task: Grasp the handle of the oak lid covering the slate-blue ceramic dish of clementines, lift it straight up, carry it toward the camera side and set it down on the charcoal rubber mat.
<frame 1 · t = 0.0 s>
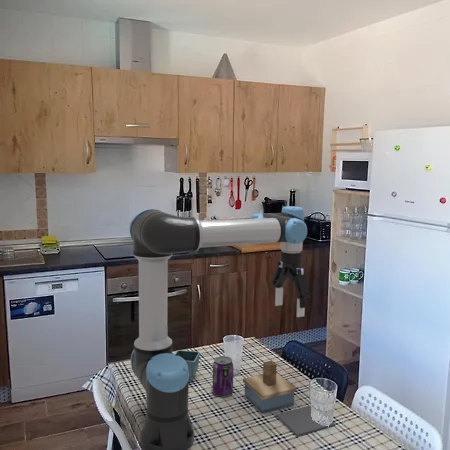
hand: (289, 310, 158), 28 cm above the table, fingers open, 13 cm apart
beverage can: (222, 393, 156), on the table
lid: (269, 386, 151), point 5 cm above the table, touching dish
flower pot: (185, 379, 166), on the table
mat: (304, 420, 140), on the table
dish: (268, 400, 151), on the table
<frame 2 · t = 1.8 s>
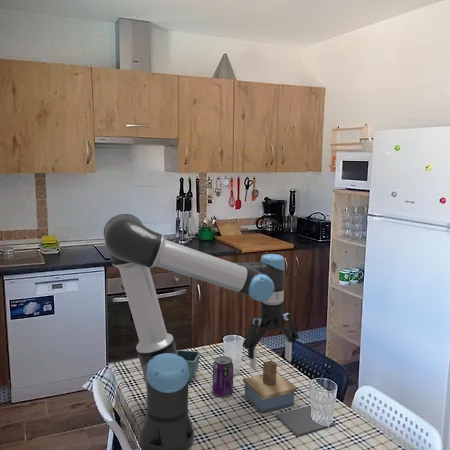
hand: (270, 363, 150), 13 cm above the table, fingers open, 13 cm apart
nothing on the table moved.
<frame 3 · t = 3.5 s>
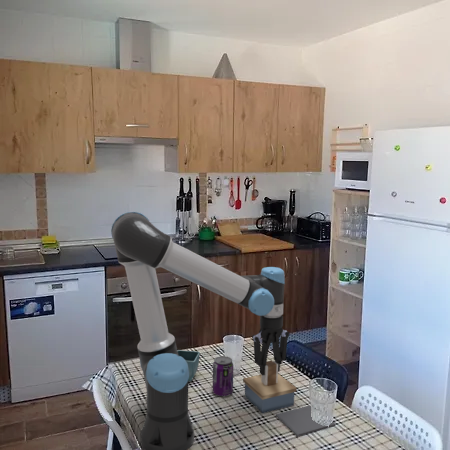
hand: (269, 382, 150), 7 cm above the table, fingers closed on lid, 3 cm apart
lid: (269, 386, 151), point 5 cm above the table, touching dish, gripper
everything else where it was.
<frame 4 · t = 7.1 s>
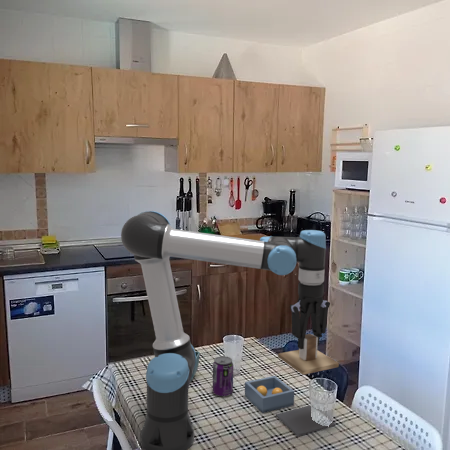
hand: (307, 357, 137), 21 cm above the table, fingers closed on lid, 3 cm apart
lid: (307, 362, 137), point 19 cm above the table, touching gripper
everything else where it was.
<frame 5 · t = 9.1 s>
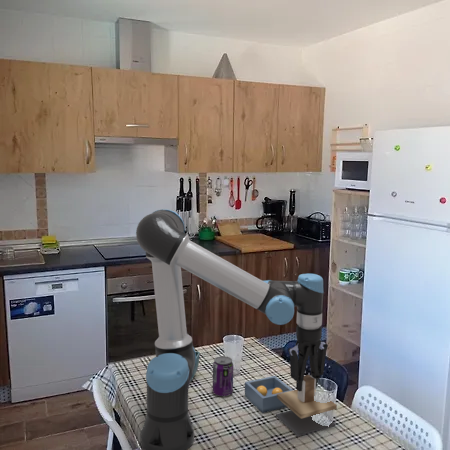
hand: (306, 398, 139), 7 cm above the table, fingers closed on lid, 3 cm apart
lid: (306, 403, 139), point 6 cm above the table, touching gripper
everything else where it was.
when the fingers open (4 cm above the table, at t = 10.6 s): lid drops 1 cm, resting on mat.
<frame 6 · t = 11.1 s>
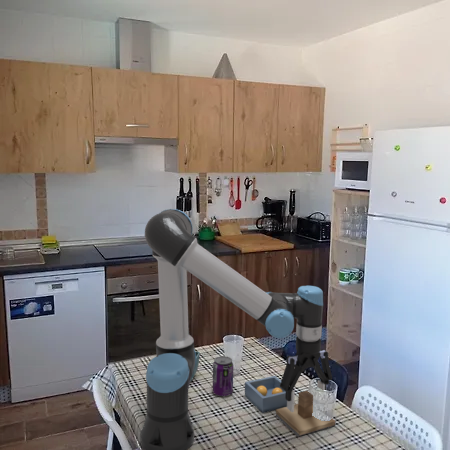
hand: (305, 405, 139), 5 cm above the table, fingers open, 10 cm apart
lid: (304, 418, 140), point 1 cm above the table, touching mat
everything else where it was.
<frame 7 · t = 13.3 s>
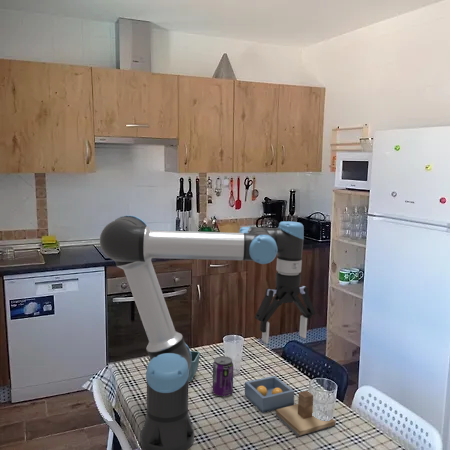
hand: (284, 339, 140), 25 cm above the table, fingers open, 13 cm apart
nothing on the table moved.
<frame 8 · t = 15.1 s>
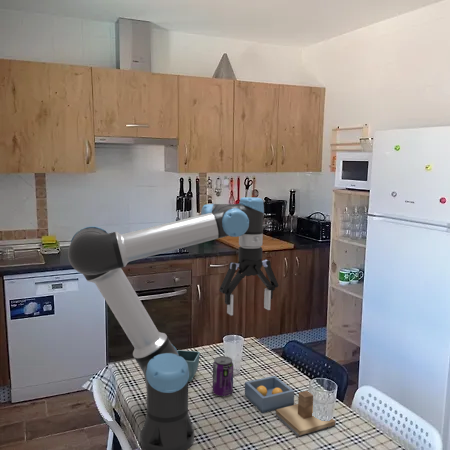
hand: (248, 311, 145), 32 cm above the table, fingers open, 13 cm apart
nothing on the table moved.
at the end: lid inside the target area on the mat (0.0 cm from its centre), point 0.6 cm above the mat's base; lid touching mat; lid tilted 0° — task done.
